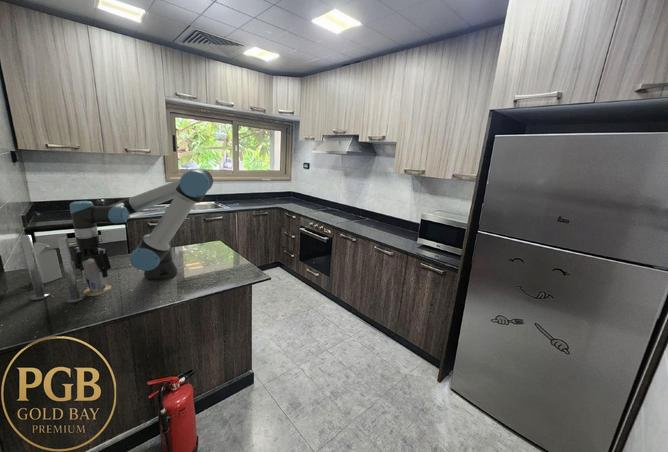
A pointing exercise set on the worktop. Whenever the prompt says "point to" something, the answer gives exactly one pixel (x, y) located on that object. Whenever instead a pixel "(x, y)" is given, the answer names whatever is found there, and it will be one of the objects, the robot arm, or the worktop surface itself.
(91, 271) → the beverage can
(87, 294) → the coaster
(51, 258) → the milk carton
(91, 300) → the worktop surface
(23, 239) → the post
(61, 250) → the post
